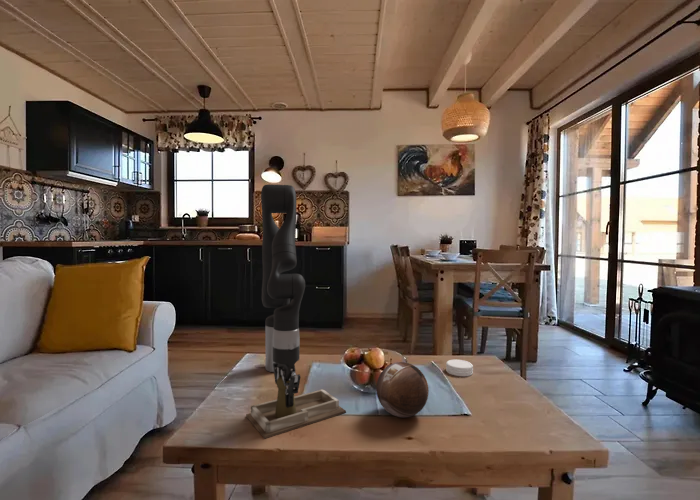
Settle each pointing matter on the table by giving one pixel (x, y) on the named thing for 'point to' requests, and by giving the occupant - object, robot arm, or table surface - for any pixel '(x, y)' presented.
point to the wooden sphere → (402, 389)
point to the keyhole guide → (307, 412)
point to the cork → (283, 401)
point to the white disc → (459, 367)
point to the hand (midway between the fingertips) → (286, 403)
